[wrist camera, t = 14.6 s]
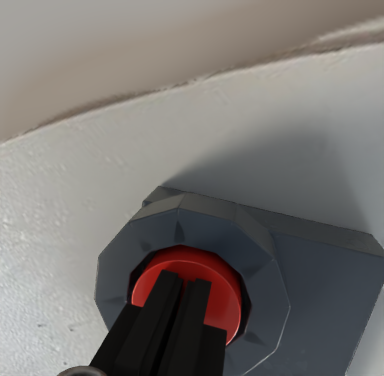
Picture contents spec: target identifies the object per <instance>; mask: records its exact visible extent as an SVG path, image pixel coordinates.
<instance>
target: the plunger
mask: <svg viewBox="0 0 384 376" xmlns="http://www.w3.org/2000/svg"><path fill="white" fill-rule="evenodd" d="M162 269H164V270H168V271H172V272H176V273H178V278H181V279H183V286H182V291H181V296H180V300H179V305H178V310H179V307H180V304H181V301H182V298H183V295H184V292H185V289H186V286H187V283H188V281H192V282H195V279H196V278H199V279H203V280H207V281H211V282H212V285H211V290H210V295H209V299H208V304H207V309H206V314H205V319H204V323H203V324H206V325H210V326H214V327H217V328H221V329H225V330H227V339H226V345H227V344H228V343H229V342H230V341H231V340H232V339H233V337H234V336H235V334H236V332H237V330H238V328H239V325H240V320H241V304H242V277H241V274H239V273H238V272H237V271H236V270H235V269H234V268H233V267H231V266H230V265H229V264H228V263H227V262H226V261H225V260H223V259H222V258H221V257H220V256H219V255H218V254H217V253H214V252H210V251H206V250H202V249H198V248H194V247H190V246H185V245H181V244H179V245H175V246H171V247H167V248H164V249H160V250H157V251H156V252H155V253H154V255H153V256H152V258H151V259H150V261H149V263H148V264H147V266H146V267H145V269H144V271H143V272H142V274H141V276H140V277H139V279H138V281H137V282H136V284H135V287H134V289H133V293H132V301H131V302H132V304H133V305H137V306H140V307H143V305H144V303H145V301H146V299H147V297H148V295H149V293H150V291H151V289H152V287H153V286H154V284H155V282H156V280H157V278H158V276H159V274H160V272H161V270H162ZM178 310H177V313H178ZM176 316H177V315H176Z"/></svg>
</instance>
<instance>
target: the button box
mask: <svg viewBox="0 0 384 376" xmlns="http://www.w3.org/2000/svg"><path fill="white" fill-rule="evenodd" d="M179 244H181V245H185V246H190V247H194V248H198V249H202V250H206V251H210V252H214V253H217V254H218V255H219V256H220V257H221V258H222V259H223V260H225V261H226V262H227V263H228V264H229V265H230V266H231V267H233V268H234V269H235V270H236V271H237V272H238V273H239V274H241V277H242V304H241V320H240V325H239V328H238V330H237V332H236V334H235V336H234V337H233V339H232V340H231V341H230V342H229V343H228V344H227V345H226V349H225V359H224V369H223V376H345V375H346V373H347V371H348V368H349V366H350V363H351V361H352V359H353V356H354V354H355V351H356V349H357V346H358V344H359V342H360V339H361V337H362V334H363V332H364V330H365V327H366V325H367V322H368V320H369V318H370V315H371V313H372V310H373V308H374V306H375V303H376V301H377V298H378V296H379V293H380V291H381V289H382V286H383V284H384V249H383V248H382V246H381V245H380V244H379V243H378V242H377V240H376V239H375V238H374V237H373V236H372V235H371V234H367V233H362V232H358V231H354V230H349V229H345V228H341V227H336V226H332V225H328V224H323V223H319V222H315V221H310V220H306V219H302V218H297V217H293V216H289V215H284V214H280V213H275V212H271V211H267V210H262V209H258V208H254V207H249V206H245V205H241V204H236V203H234V202H230V201H226V200H221V199H217V198H213V197H208V196H204V195H200V194H195V193H191V192H184V191H180V190H175V189H171V188H167V187H162V186H158V187H157V188H156V189H155V190H154V191H153V192H152V193H151V194H150V195H149V196H148V197H147V198H146V199H145V200H144V201H143V203H142V208H141V209H140V210H139V211H138V212H137V213H136V214H135V215H134V216H133V217H132V218H131V219H130V220H129V221H128V223H127V224H126V225H125V226H124V227H123V228H122V229H121V231H120V232H119V233H118V234H117V235H116V236H115V238H114V239H113V240H112V241H111V242H110V243H109V244H108V246H107V247H106V248H105V249H104V250H103V251H102V253H101V254H100V255H99V257H98V265H97V275H96V284H95V293H94V300H95V302H96V305H97V307H98V309H99V311H100V313H101V316H102V318H103V320H104V322H105V324H106V326H107V329H108V331H110V329H111V328H112V326H113V324H114V323H115V321H116V319H117V318H118V316H119V314H120V313H121V311H122V309H123V307H124V306H125V305H126V304H127V303H129V304H132V302H131V301H132V293H133V289H134V287H135V284H136V282H137V281H138V279H139V277H140V276H141V274H142V272H143V271H144V269H145V267H146V266H147V264H148V263H149V261H150V259H151V258H152V256H153V255H154V253H155V252H156V251H157V250H160V249H164V248H167V247H171V246H175V245H179Z"/></svg>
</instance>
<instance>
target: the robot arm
mask: <svg viewBox="0 0 384 376" xmlns="http://www.w3.org/2000/svg"><path fill="white" fill-rule="evenodd" d="M211 285H212V282H211V281H207V280H203V279H199V278H196V279H195V282H192V281H188V283H187V286H186V289H185V292H184V295H183V298H182V301H181V304H180V307H179V310H178V305H179V300H180V296H181V291H182V286H183V279H181V278H178V273H176V272H172V271H168V270H164V269H162V270H161V272H160V274H159V276H158V278H157V280H156V282H155V284H154V286H153V287H152V289H151V291H150V293H149V295H148V297H147V299H146V301H145V303H144V305H143V307H140V306H137V305H133V304H129V303H127V304H126V305H125V306H124V307H123V309H122V311H121V313H120V314H119V316H118V318H117V319H116V321H115V323H114V324H113V326H112V328H111V329H110V331H109V333H108V334H107V336H106V338H105V339H104V341H103V343H102V344H101V346H100V348H99V349H98V351H97V353H96V354H95V356H94V358H93V359H92V361H91V363H90V364H89V366H77V367H72V368H69V369H67V370H65V371H63V372H61V373H59V374H58V375H57V376H223V369H224V359H225V349H226V339H227V330H225V329H221V328H217V327H214V326H210V325H206V324H203V323H204V319H205V314H206V309H207V304H208V299H209V295H210V290H211ZM177 310H178V313H177ZM176 315H177V316H176Z"/></svg>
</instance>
